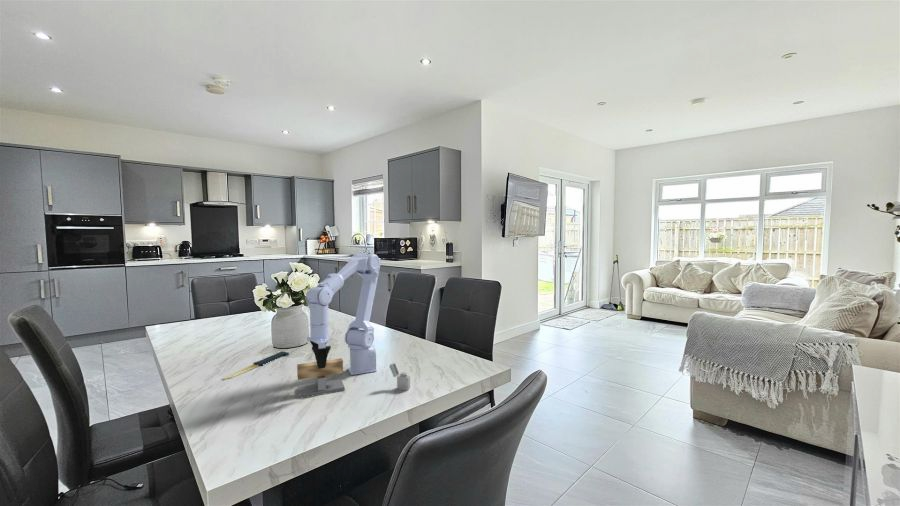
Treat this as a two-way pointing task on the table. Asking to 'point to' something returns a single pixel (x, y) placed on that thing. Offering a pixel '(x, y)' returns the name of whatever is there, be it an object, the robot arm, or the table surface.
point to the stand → (320, 387)
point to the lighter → (400, 378)
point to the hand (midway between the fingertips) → (320, 364)
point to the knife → (257, 364)
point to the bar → (312, 369)
